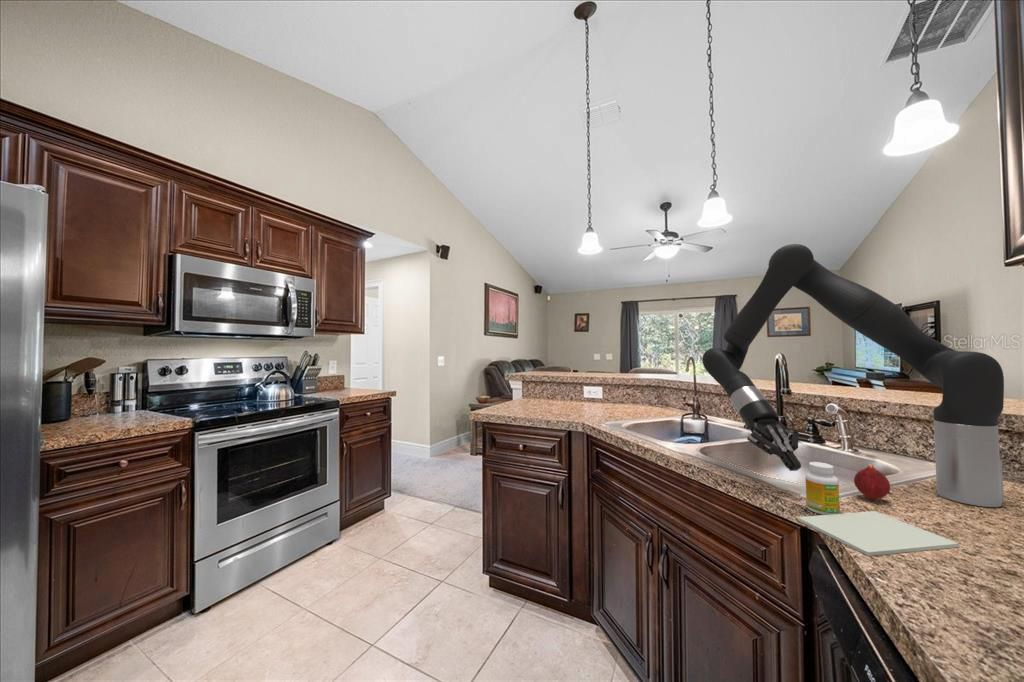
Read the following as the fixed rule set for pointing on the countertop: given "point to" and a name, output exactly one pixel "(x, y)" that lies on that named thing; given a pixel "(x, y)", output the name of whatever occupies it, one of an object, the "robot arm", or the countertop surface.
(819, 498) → the supplement bottle
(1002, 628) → the countertop surface
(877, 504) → the countertop surface
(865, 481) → the onion
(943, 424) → the robot arm
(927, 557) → the countertop surface
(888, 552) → the mat
